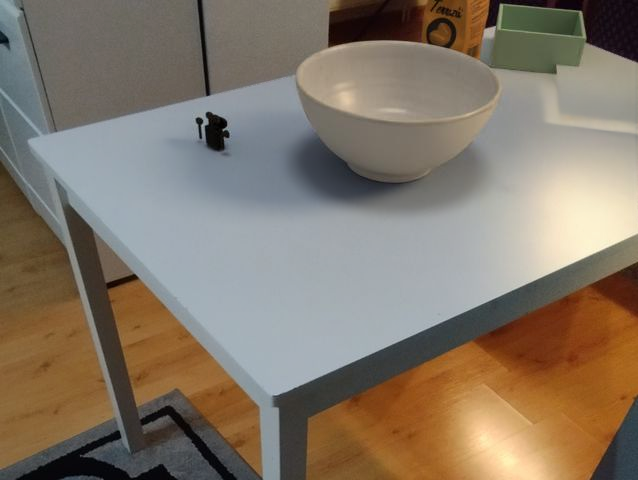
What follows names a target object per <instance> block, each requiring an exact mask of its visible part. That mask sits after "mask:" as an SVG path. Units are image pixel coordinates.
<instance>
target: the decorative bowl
mask: <svg viewBox="0 0 638 480" xmlns="http://www.w3.org/2000/svg"><path fill="white" fill-rule="evenodd" d="M294 81H295V86H296V91H297V95H298V98H299V101H300V104H301V107H302V108H303V112H304V114H305V116H306V119H307V120H308V122H309V125H311V127H312V129H313V130H314V132H315V133H316V135H317V137H318V138H319V139H320V140H321V141H322V142H323V144H324V145H325V146H326V147H327V148H328V149H329V150H330V151H331V152H332V153H334V155H336V157H338V158H340V159H341V160H343V161H345V162H346V163H347V166H348V167H349V168H350V169H351V170H352V171H353V172H354V173H355V174H357V175H359V176H361V177H363V178H366V179H369V180H371V181H375V182H376V181H377V182H380V183H391V184H392V183H393V184H395V183H396V184H397V183H398V184H399V183H408V182H413V181H416V180H419V179H422V178H424V177H425V176H427V175H428V174H429V173H430V172H431V171H432V170H433V169H434V168H437V167H440V166H442V165H443V164H446V163H447V162H448V161H450V160H452V159H453V158H455V157H456V156H458V154H460V153H461V152H463V150H465V149H467V147H468V146H469V145H470V144H471V143H472V142H473V141H474V140H475V139H476V137H477V136H478V135H479V134H480V132H481V131H482V130H483V128H484V127H485V126H486V125H487V123H488V121H489V120H490V118H491V116H492V114H493V113H494V111H495V109H496V107H497V105H498V103H499V101H500V98H501V95H502V92H503V84H502V81H501V79H500V77H499V75H498V74H497V72H495V71H494V70H493V69H492V67H490V66H488V65H487V64H486V63H484V62H482V61H481V60H477V59H475V58H473V57H471V56H469V55H466V54H464V53H461V52H458V51H455V50H451V49H448V48H444V47H440V46H435V45H430V44H424V43H421V42H416V41H406V40H383V39H382V40H363V41H353V42H348V43H342V44H337V45H333V46H330V47H327V48H324V49H322V50H319V51H317V52H315V53H313V54H311V55H309V56H308V57H306V58H305V59H304V60H302V61H301V63H300V64H299V65H298V67H297V68H296V71H295V75H294Z"/></svg>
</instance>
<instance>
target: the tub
mask: <svg viewBox="0 0 638 480" xmlns="http://www.w3.org/2000/svg"><path fill="white" fill-rule="evenodd" d="M586 42H587V34H586V28H585V21H584V16H583V11H582V10H573V9H563V8H550V7H540V6H530V5H517V4H507V3H499V7H498V12H497V18H496V23H495V29H494V33H493V40H492V48H491V57H490V65H489V67H490V68H497V69H506V70H514V71H515V70H516V71H525V72H534V73H543V74H552V75H554V74H555V75H558V69H557V65H558V66H567V67H578V68H579V67H580V64H581V60H582V56H583V53H584V49H585V46H586Z"/></svg>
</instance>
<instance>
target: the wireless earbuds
mask: <svg viewBox="0 0 638 480" xmlns="http://www.w3.org/2000/svg"><path fill="white" fill-rule="evenodd" d="M205 118H206V119H207V124H205V125H204V136H205V143H206V145H208V146H209V147H211V148H213V149H215V150H221V151H225V150H226V146H225V145H226V144H225V139H229V138H230V137H231V134H230V131H229V130H228V129H226V128H228V123H229V122H228V120H227V119H226V118H225V117H223V116H220V115H218V114H215V113H213V112H212V111H206V112H205ZM195 124H196V125H197V130H198V139H199V140H203V131H202V130H203V129H202V125H203V124H204V118H203V117H200V116H197V117H195Z"/></svg>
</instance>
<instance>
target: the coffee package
mask: <svg viewBox="0 0 638 480" xmlns="http://www.w3.org/2000/svg"><path fill="white" fill-rule="evenodd" d="M490 1H491V0H427V2H426V5H425V7H424V11H423V19H422V30H421V32H422V33H421V41H420V43H424V44H430V45H435V46H440V47H444V48H448V49H451V50H455V51H458V52H461V53H464V54H466V55H469V56H471V57H473V58H475V59H477V60H479V61H481V60H480V59H481V52H482V47H483V46H482V45H483V41H484V40H483V39H484V34H485V29H486V25H487V23H486V22H487V20H488V16H489V9H490Z"/></svg>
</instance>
